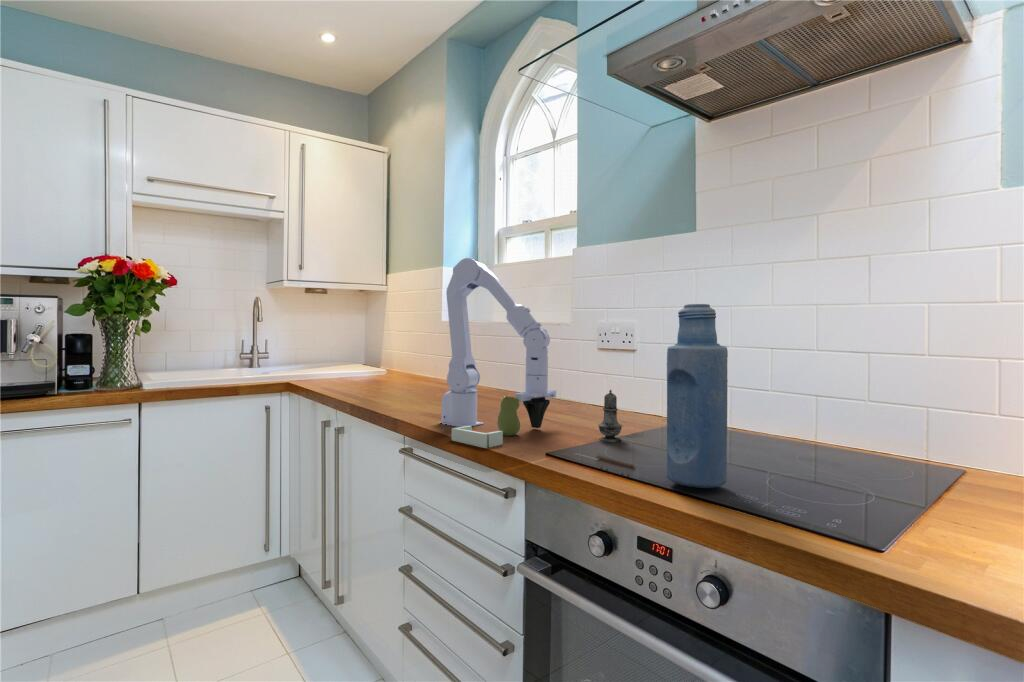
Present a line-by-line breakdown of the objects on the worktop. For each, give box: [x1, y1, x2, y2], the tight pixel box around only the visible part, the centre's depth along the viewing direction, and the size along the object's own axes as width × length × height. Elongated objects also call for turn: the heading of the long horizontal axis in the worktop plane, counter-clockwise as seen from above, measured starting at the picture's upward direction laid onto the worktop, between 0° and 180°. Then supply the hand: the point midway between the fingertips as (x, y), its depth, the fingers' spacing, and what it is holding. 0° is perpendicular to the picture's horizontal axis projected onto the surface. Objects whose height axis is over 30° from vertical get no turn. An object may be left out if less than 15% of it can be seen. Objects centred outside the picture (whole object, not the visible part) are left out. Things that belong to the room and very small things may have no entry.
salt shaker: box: [597, 389, 623, 443], centre depth 127 cm, size 6×6×12 cm
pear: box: [497, 395, 521, 437], centre depth 130 cm, size 6×5×10 cm
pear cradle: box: [451, 426, 504, 449], centre depth 122 cm, size 11×6×3 cm, turn 49°
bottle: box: [666, 303, 729, 489], centre depth 91 cm, size 10×10×30 cm
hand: (536, 427), depth 138 cm, fingers closed
